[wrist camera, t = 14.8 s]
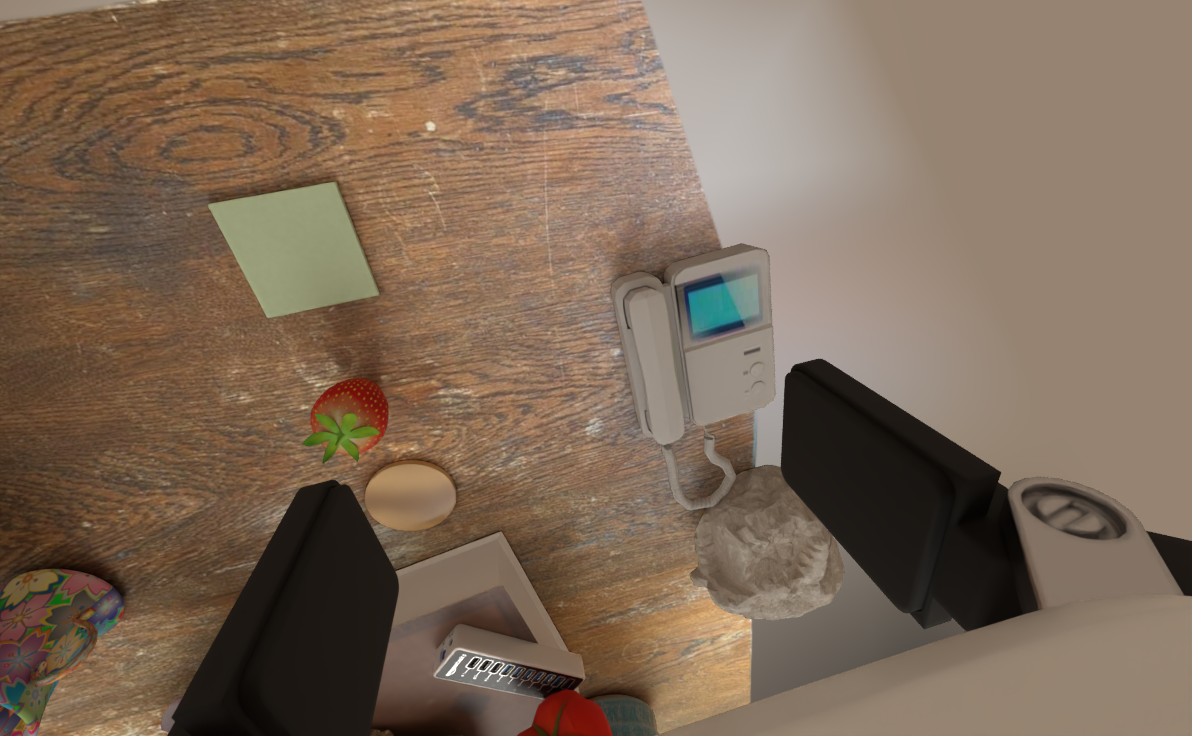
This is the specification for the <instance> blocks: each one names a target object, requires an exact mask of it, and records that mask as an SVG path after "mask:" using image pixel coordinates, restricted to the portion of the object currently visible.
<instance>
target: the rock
mask: <svg viewBox="0 0 1192 736" xmlns="http://www.w3.org/2000/svg"><path fill="white" fill-rule="evenodd" d="M370 736H394V735H393V733H392V732H391V731H390V730H389V729H388V730H385V731H383V732H380V730H377V729H371V731H370ZM452 736H463V735H452Z"/></svg>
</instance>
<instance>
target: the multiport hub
mask: <svg viewBox="0 0 1192 736" xmlns="http://www.w3.org/2000/svg"><path fill="white" fill-rule="evenodd" d="M433 676H434V677H435V678H440V679H445V680H450V681H455V682H460V683H465V684H469V685H474V686H479V687H484V688H489V689H494V690H499V691H504V692H509V693H514V694H519V695H524V696H529V697H534V698H539V699H544V700H545V699H546V698H547V697H548V696H550V695H551V694H553V693H555V692H559V691H562V690H565V689H568V690H573V691H574V690H575V689H576V688H577V687H578V686H579V685H580V684H581V683H582V682H583V681H584V680H585V673H584V667H583V662H582V656H581V655H579V654H575V653H572V652H568V651H564V650H560V649H556V648H552V647H549V646H545V645H541V644H537V643H533V642H529V641H526V640H522V639H518V638H514V637H510V636H506V635H502V634H499V633H495V632H491V631H487V630H483V629H479V628H476V627H472V626H468V625H464V624H458V625H456V626H455V627H454V629H453V630H452V631H451V632H450V634H449V635H448V636H447V637H446V638H445V640H444V641H443V642H442V643H441V644H440V646H439V647H438V648H437V649H436V653H435V662H434V672H433Z"/></svg>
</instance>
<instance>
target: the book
mask: <svg viewBox="0 0 1192 736" xmlns="http://www.w3.org/2000/svg"><path fill="white" fill-rule="evenodd" d="M395 572H396V574H397V576H398V581H399V594H398V599H397V604H396V609H395V614H394V619H393V623H392V628H391V633H390V638H389V643H388V648H387V653H386V658H385V662H384V667H383V672H382V677H381V682H380V687H379V692H378V697H377V701H376V706H375V711H374V716H373V721H372V726H371V729H377V730H380V732H383V731H385V730H388V729H389V730H390V731H391V732H392V733H393V735H394V736H452V735H463V736H517V735H518V734H519V733H520V732H522V731H524V730H526V729H527V728H529V727H531V726H532V723H533V720H534V717H535V714H536V711H537V708H538V706H539V704H540V703H541V702H543V701H544V699H539V698H534V697H529V696H524V695H519V694H514V693H509V692H504V691H499V690H494V689H489V688H484V687H479V686H474V685H469V684H465V683H460V682H455V681H450V680H445V679H440V678H435V677H434V676H433V672H434V662H435V653H436V649H437V648H438V647H439V646H440V644H441V643H442V642H443V641H444V640H445V638H446V637H447V636H448V635H449V634H450V632H451V631H452V630H453V629H454V627H455V626H456V625H458V624H464V625H468V626H472V627H476V628H479V629H483V630H487V631H491V632H495V633H499V634H502V635H506V636H510V637H514V638H518V639H522V640H526V641H529V642H533V643H537V644H541V645H545V646H549V647H552V648H556V649H560V650H564V651H568V649H567V647H566V645H565V643H564V642H563V640H562V638H561V636H560V635H559V633H558V631H557V629H556V627H555V626H554V624H553V622H552V620H551V619H550V617H549V615H548V613H547V611H546V610H545V608H544V606H543V604H542V603H541V601H540V599H539V597H538V595H537V594H536V592H535V590H534V588H533V587H532V585H531V583H530V581H529V579H528V578H527V576H526V574H525V572H524V571H523V569H522V567H521V565H520V563H519V562H518V560H517V558H516V556H515V554H514V553H513V551H512V549H511V547H510V546H509V544H508V542H507V540H506V538H505V537H504V535H503V533H502V531H501V532H498V533H496V534H493V535H490V536H488V537H485V538H482V539H480V540H477V541H474V542H472V543H469V544H466V545H464V546H461V547H459V548H456V549H453V550H451V551H448V552H445V553H443V554H440V555H437V556H435V557H432V558H429V559H427V560H424V561H421V562H419V563H416V564H414V565H411V566H408V567H406V568H403V569H400V570H398V571H395ZM568 652H569V651H568ZM574 691H576V692H578V693H579V688H578V687H577V688H576V689H575V690H574Z"/></svg>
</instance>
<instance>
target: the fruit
mask: <svg viewBox="0 0 1192 736" xmlns="http://www.w3.org/2000/svg"><path fill="white" fill-rule="evenodd" d="M387 423H388V403H387V400H386V398H385V395H384V393H383V392H382V390H381V389H380V387H379V386H378V385H376V384H375V383H374V382H372V381H370V380H367V379H362V378H354V379H348V380H345V381H343V382H340V383H337V384H336V385H334V386H332V387H331V388H329V389H328V390H327V391H326V392H324V393H323V394H322V395H321V396H320V398H319V399H318V400H317V401H316V403H315V405H314V407H313V409H312V412H311V426H312V430H313V432H314V434H313V435H311V436H310V437H308V438H307V439H306V440H305V441H304V442H303V444H302V445H306V446H313V445H318V444H322V445H323V446H324V447H325V448H326V451H325V454H324V458H323V463H325V462H326V461H327V460H328V459H329V458H330V457H331V456H332V455H333V454H334V453H340V454H350V455H351V456H352V457H353V458H354V459H355V460H356V461H357V462H358V459H359V453H362V452H365V451H367V450H368V449H370V448H372V447H373V446H374V445H375V444H377V443H378V442H379V441H380V439H381V438H382V437H383V435H384V433H385V430H386V428H387Z"/></svg>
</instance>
